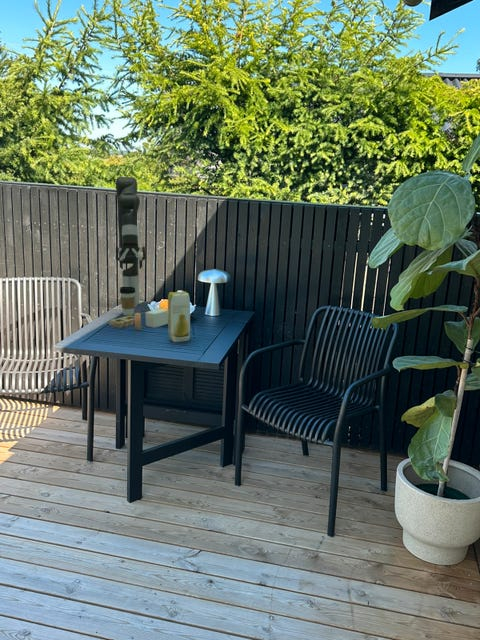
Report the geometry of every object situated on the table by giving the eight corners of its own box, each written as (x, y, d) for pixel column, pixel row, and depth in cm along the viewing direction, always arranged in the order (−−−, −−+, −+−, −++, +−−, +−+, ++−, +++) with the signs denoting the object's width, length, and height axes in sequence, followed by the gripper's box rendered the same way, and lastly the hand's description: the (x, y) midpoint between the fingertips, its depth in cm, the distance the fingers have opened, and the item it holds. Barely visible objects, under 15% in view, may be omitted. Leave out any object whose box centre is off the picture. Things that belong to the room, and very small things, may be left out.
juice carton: (172, 343, 267) (172, 292, 261) (167, 338, 274) (166, 289, 267) (191, 341, 271) (191, 291, 264) (185, 336, 278) (185, 287, 271)
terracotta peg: (133, 329, 288) (133, 313, 286) (138, 327, 290) (137, 312, 288) (137, 330, 286) (137, 314, 284) (142, 329, 289) (141, 313, 287)
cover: (145, 325, 295) (145, 312, 293) (160, 321, 302) (159, 308, 301) (153, 327, 291) (153, 314, 289) (168, 323, 299) (167, 310, 297)
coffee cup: (118, 313, 318) (117, 286, 314) (134, 311, 322) (133, 285, 318) (122, 316, 311) (121, 289, 307) (138, 315, 314) (137, 288, 310)
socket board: (119, 328, 290) (119, 323, 289) (109, 325, 294) (109, 320, 294) (140, 322, 300) (140, 317, 299) (130, 319, 305) (130, 315, 304)
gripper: (144, 237, 282) (146, 269, 281) (115, 237, 280) (116, 270, 278) (145, 233, 275) (146, 267, 274) (114, 233, 272) (115, 267, 271)
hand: (131, 268), depth 276 cm, fingers open, 8 cm apart
